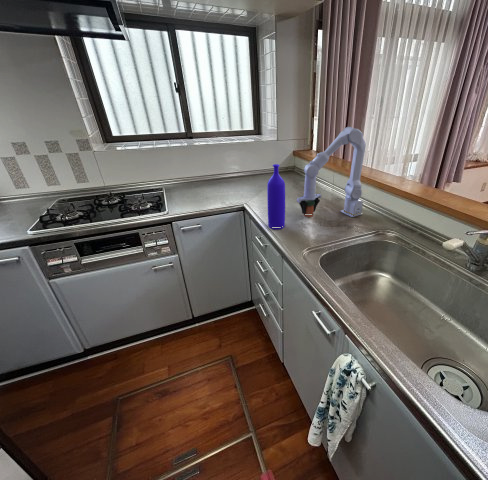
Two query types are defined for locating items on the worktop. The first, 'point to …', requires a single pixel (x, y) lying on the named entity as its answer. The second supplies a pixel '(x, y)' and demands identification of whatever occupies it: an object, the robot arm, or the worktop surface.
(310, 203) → the jar lid
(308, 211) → the jar
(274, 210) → the bottle
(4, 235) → the worktop surface
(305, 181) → the robot arm
